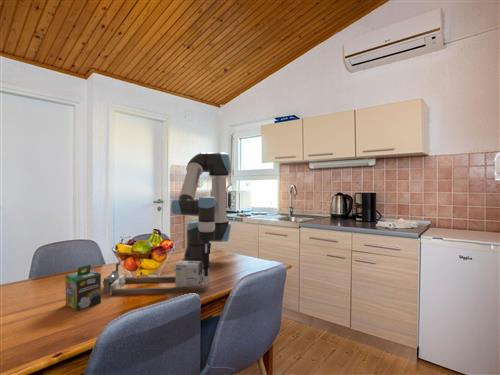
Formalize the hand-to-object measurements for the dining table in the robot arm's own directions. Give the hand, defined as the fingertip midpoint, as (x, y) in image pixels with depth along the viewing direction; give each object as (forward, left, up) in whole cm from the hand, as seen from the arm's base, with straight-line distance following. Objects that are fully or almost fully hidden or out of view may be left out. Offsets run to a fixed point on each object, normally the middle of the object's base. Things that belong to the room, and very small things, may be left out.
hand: (206, 282), depth 131 cm
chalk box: (+16, -46, -2) cm, 48 cm away
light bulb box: (0, -8, -2) cm, 8 cm away
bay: (0, -19, -1) cm, 19 cm away
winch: (-2, -41, -1) cm, 41 cm away
